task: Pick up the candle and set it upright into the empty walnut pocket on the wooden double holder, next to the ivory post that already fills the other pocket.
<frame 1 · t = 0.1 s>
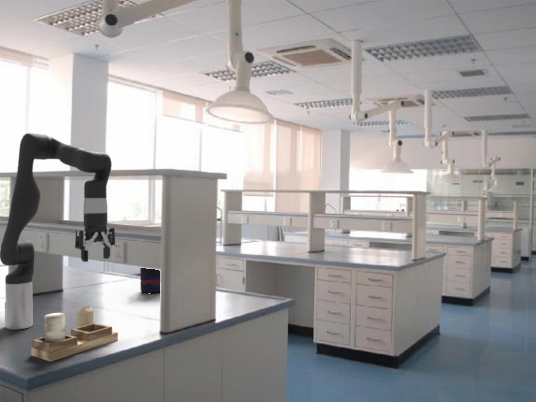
hand: (95, 260, 165), 29 cm above the worktop, fingers open, 8 cm apart
candle: (85, 335, 179), on the worktop
wooden double holder: (76, 347, 165), on the worktop
navy upright block: (151, 292, 255), on the worktop
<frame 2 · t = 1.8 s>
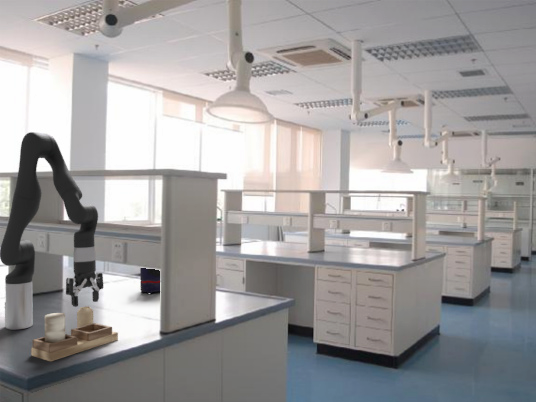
hand: (85, 303, 179), 11 cm above the worktop, fingers open, 8 cm apart
nothing on the worktop moved.
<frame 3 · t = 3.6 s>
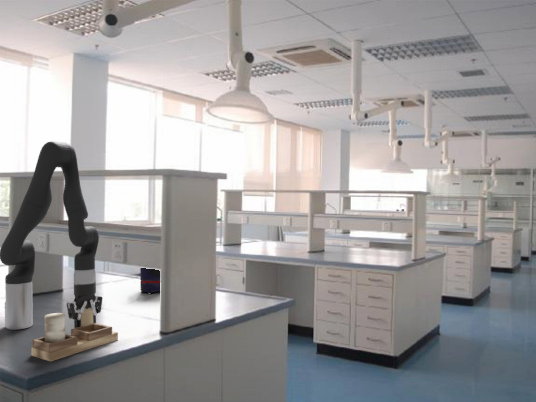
hand: (85, 327, 179), 3 cm above the worktop, fingers closed on candle, 5 cm apart
candle: (85, 334, 179), on the worktop, touching gripper
everything else where it was.
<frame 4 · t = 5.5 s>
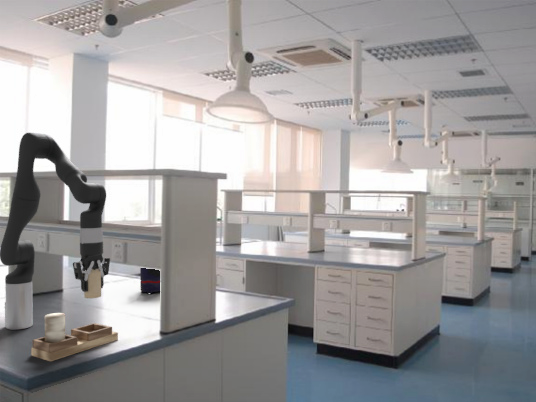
hand: (92, 289, 170), 18 cm above the worktop, fingers closed on candle, 5 cm apart
candle: (92, 297, 170), point 15 cm above the worktop, touching gripper
everything else where it was.
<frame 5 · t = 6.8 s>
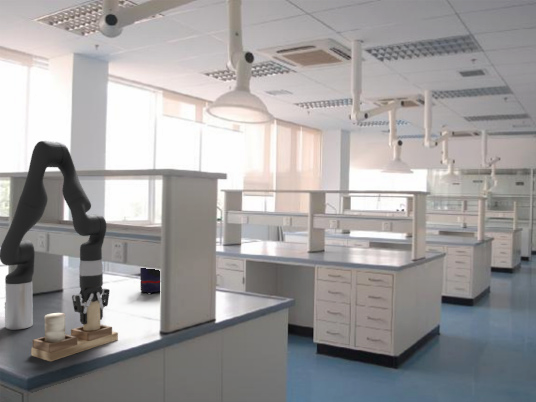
hand: (91, 321, 169), 7 cm above the worktop, fingers closed on candle, 5 cm apart
candle: (91, 329, 170), point 5 cm above the worktop, touching gripper
everything else where it was.
when the fingers open (6 cm above the worktop, at t = 7.9 s): candle stays where it is, resting on wooden double holder.
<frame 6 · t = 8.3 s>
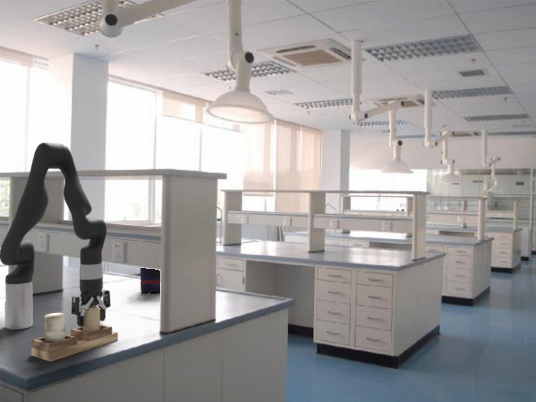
hand: (91, 323, 169), 7 cm above the worktop, fingers open, 8 cm apart
candle: (91, 335, 170), point 2 cm above the worktop, touching wooden double holder
everything else where it was.
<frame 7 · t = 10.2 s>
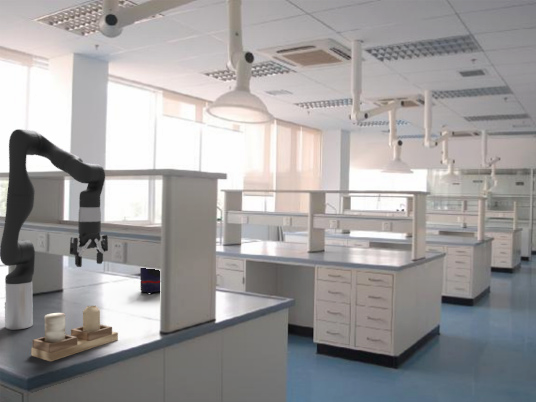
hand: (89, 265, 176), 26 cm above the worktop, fingers open, 8 cm apart
nothing on the worktop moved.
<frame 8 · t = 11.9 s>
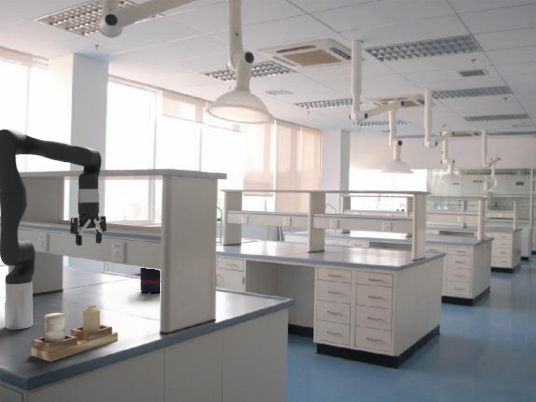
hand: (89, 244, 185), 32 cm above the worktop, fingers open, 8 cm apart
nothing on the worktop moved.
at the end: candle 0.1 cm from the target spot on the wooden double holder, point 2.3 cm above the wooden double holder's base; candle tilted 0°; the gripper is holding nothing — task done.
